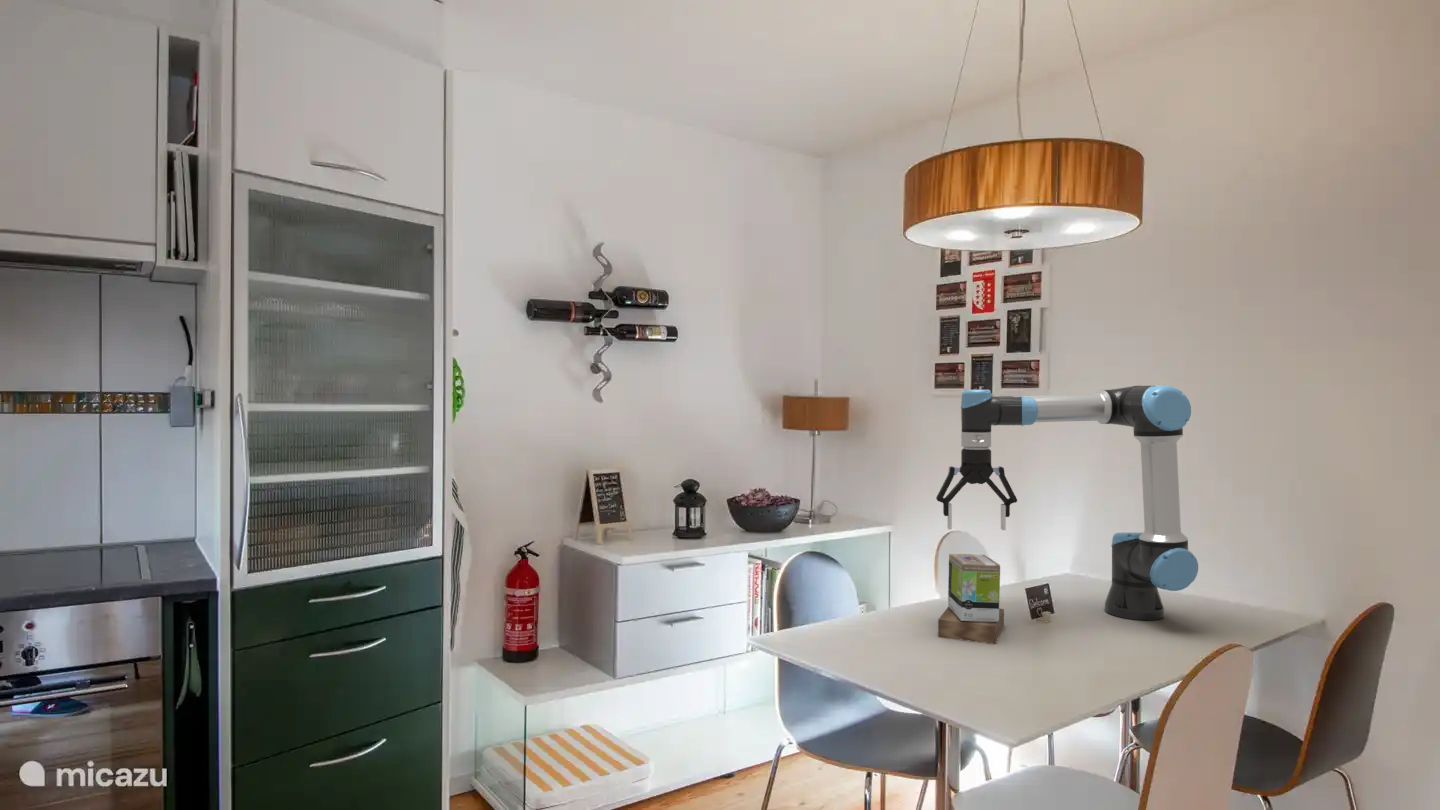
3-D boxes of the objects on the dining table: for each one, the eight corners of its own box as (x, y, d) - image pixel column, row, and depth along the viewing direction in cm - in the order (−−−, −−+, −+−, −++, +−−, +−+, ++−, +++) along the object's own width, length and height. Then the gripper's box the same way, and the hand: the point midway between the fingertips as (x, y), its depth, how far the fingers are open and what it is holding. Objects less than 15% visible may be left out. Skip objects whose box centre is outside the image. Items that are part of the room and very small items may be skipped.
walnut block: (1003, 627, 224) (1004, 609, 224) (995, 646, 207) (995, 626, 207) (950, 621, 230) (950, 603, 230) (938, 638, 213) (938, 619, 213)
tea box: (1000, 622, 210) (1001, 564, 210) (960, 622, 211) (960, 563, 210) (984, 607, 225) (985, 552, 225) (946, 606, 226) (947, 552, 225)
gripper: (928, 449, 217) (929, 530, 217) (1028, 449, 213) (1028, 532, 213) (926, 447, 224) (926, 525, 225) (1022, 447, 221) (1022, 527, 221)
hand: (976, 529), depth 219 cm, fingers open, 13 cm apart
